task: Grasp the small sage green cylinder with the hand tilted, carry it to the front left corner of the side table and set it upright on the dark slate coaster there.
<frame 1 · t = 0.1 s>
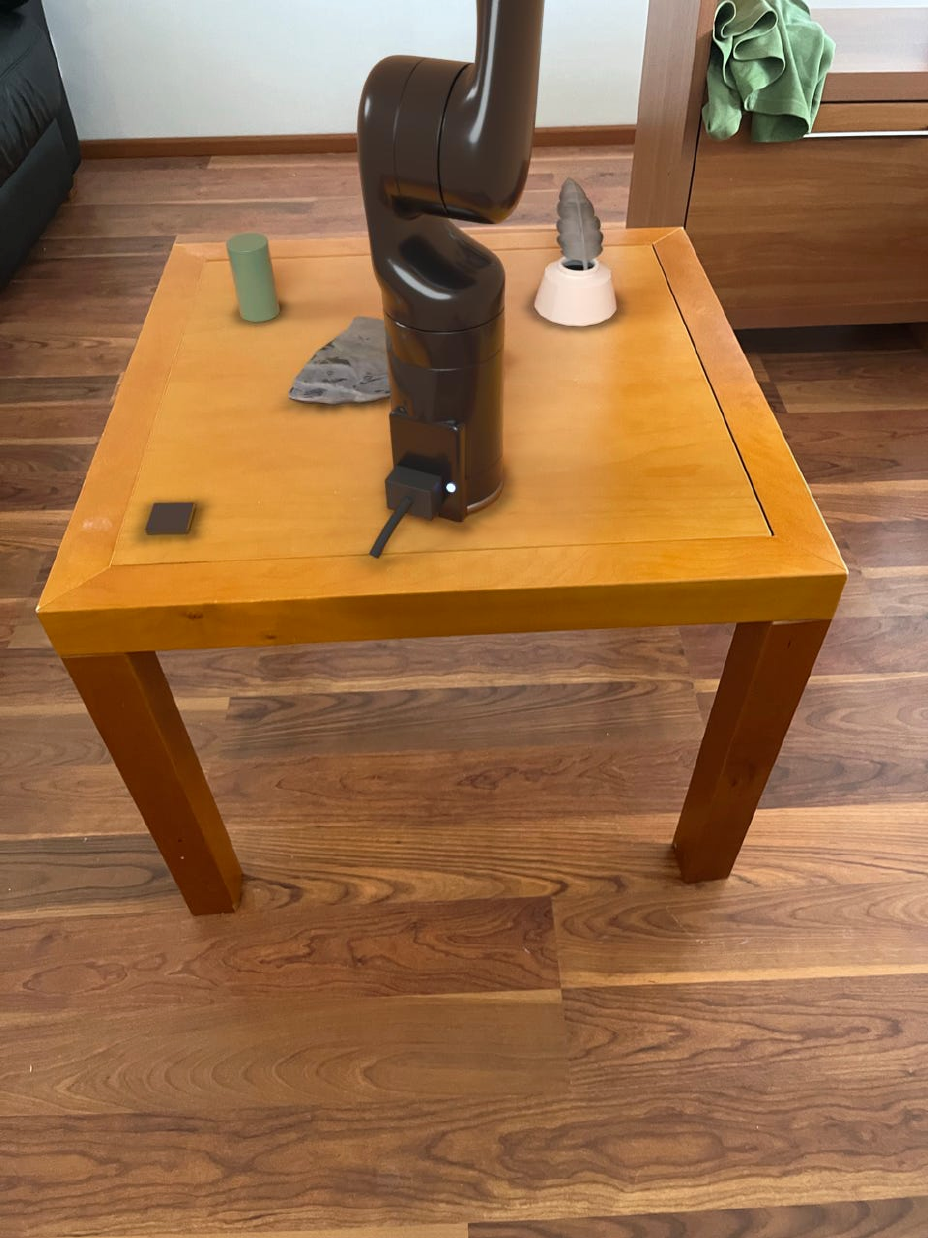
sage green cylinder: (260, 312, 104), on the table
inkwell: (568, 289, 107), on the table
coaster: (171, 520, 80), on the table
fossil rock: (397, 378, 95), on the table
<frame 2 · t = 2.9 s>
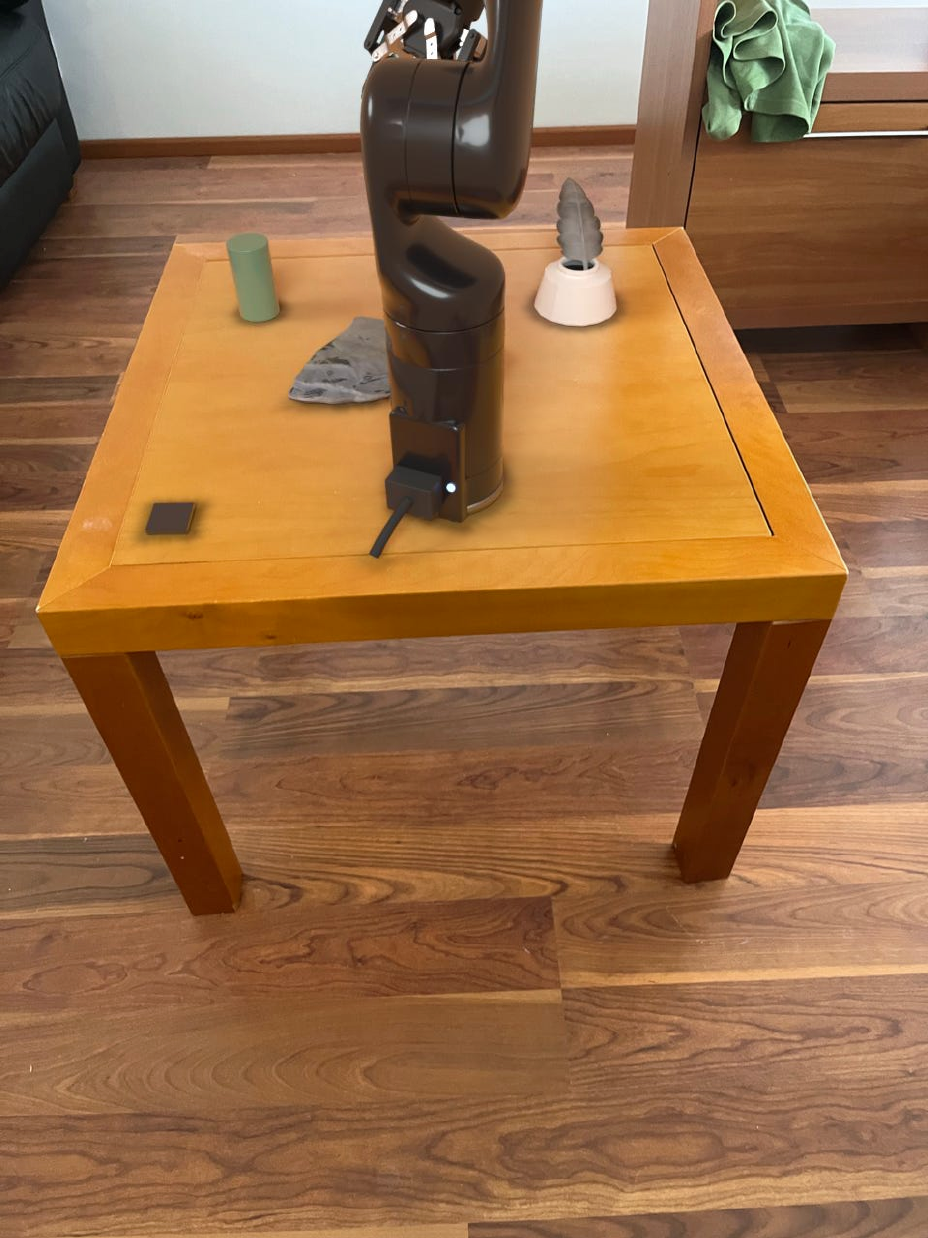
hand: (394, 118, 98), 17 cm above the table, tool tilted 35°, fingers open, 8 cm apart
nothing on the table moved.
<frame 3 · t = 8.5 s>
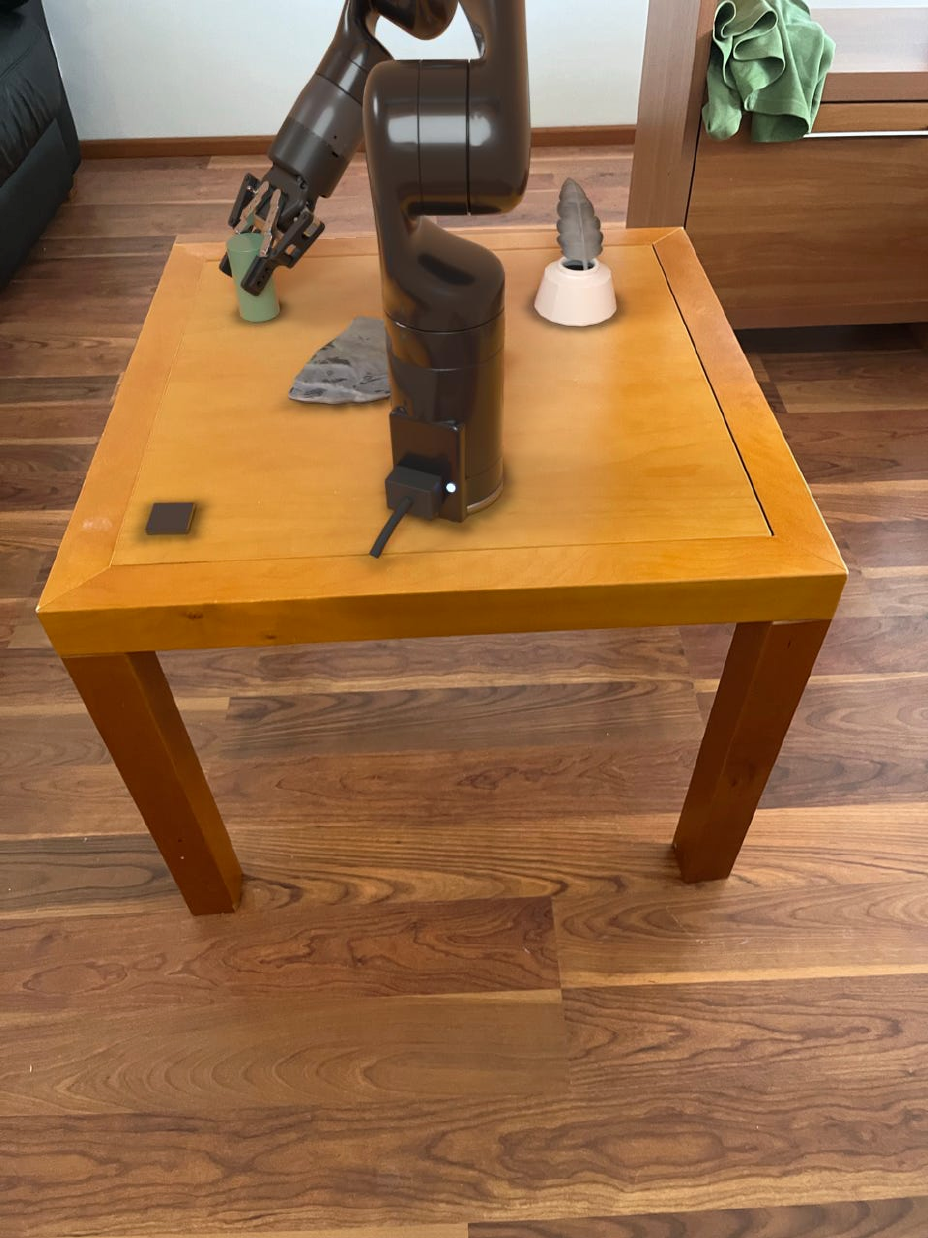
hand: (237, 282, 100), 4 cm above the table, tool tilted 45°, fingers closed on sage green cylinder, 4 cm apart
sage green cylinder: (260, 312, 104), on the table, touching gripper
everything else where it was.
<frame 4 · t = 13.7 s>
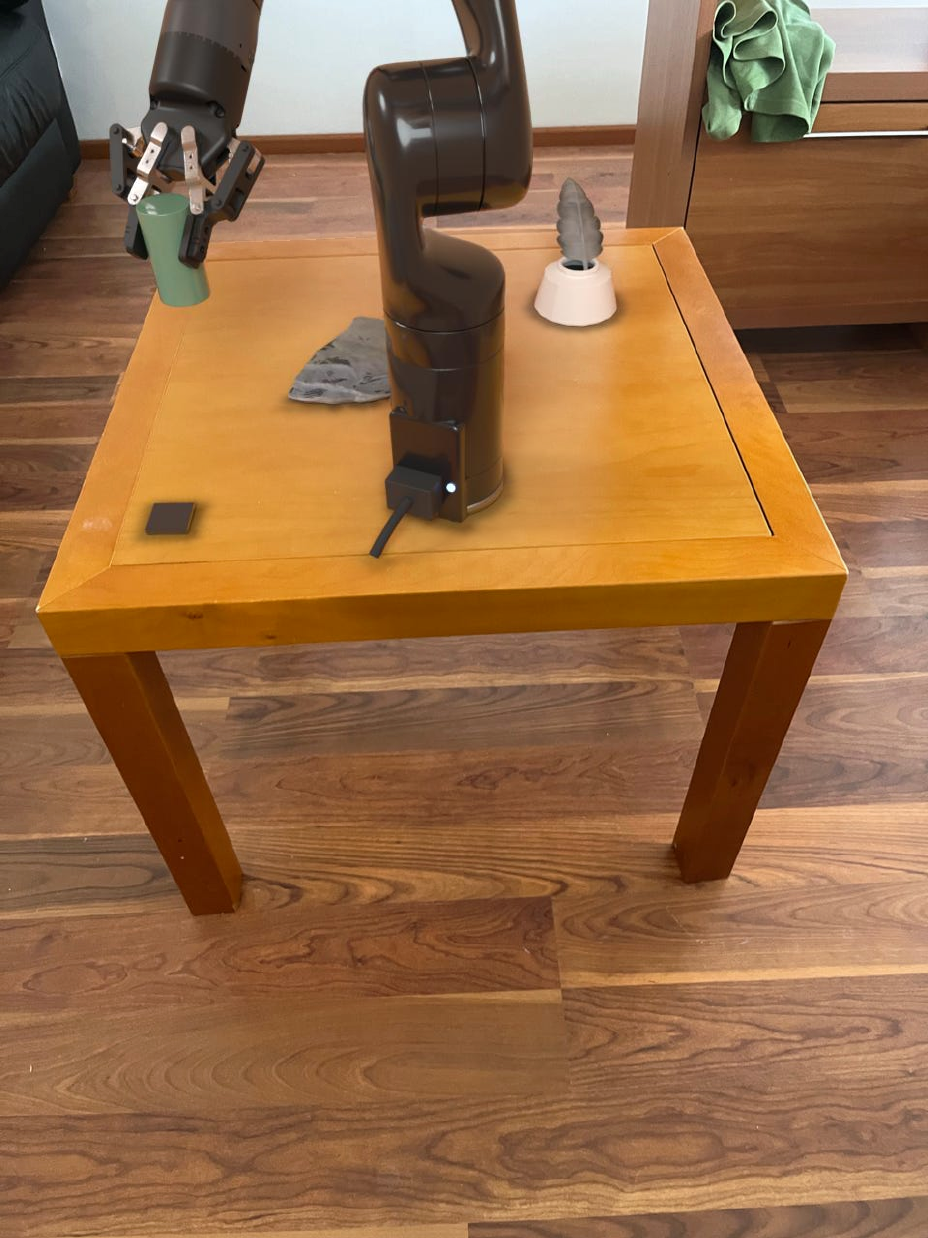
hand: (162, 259, 78), 16 cm above the table, tool tilted 45°, fingers closed on sage green cylinder, 4 cm apart
sage green cylinder: (185, 295, 82), point 12 cm above the table, touching gripper
everything else where it was.
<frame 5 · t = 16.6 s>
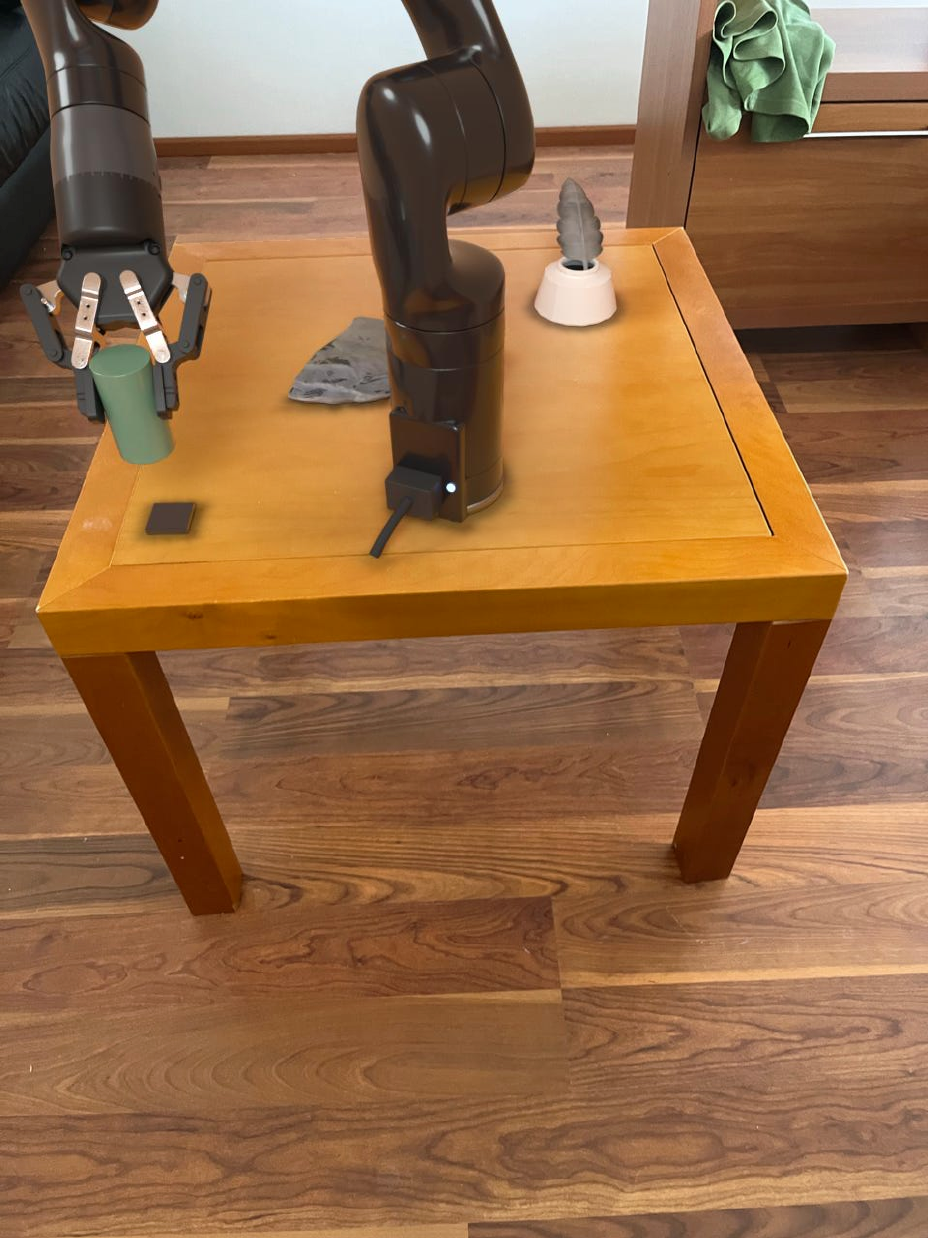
hand: (131, 419, 70), 11 cm above the table, tool tilted 45°, fingers closed on sage green cylinder, 4 cm apart
sage green cylinder: (147, 448, 74), point 7 cm above the table, touching gripper
everything else where it was.
when the fingers open (5 cm above the table, at t = 18.9 s): sage green cylinder stays where it is, resting on coaster.
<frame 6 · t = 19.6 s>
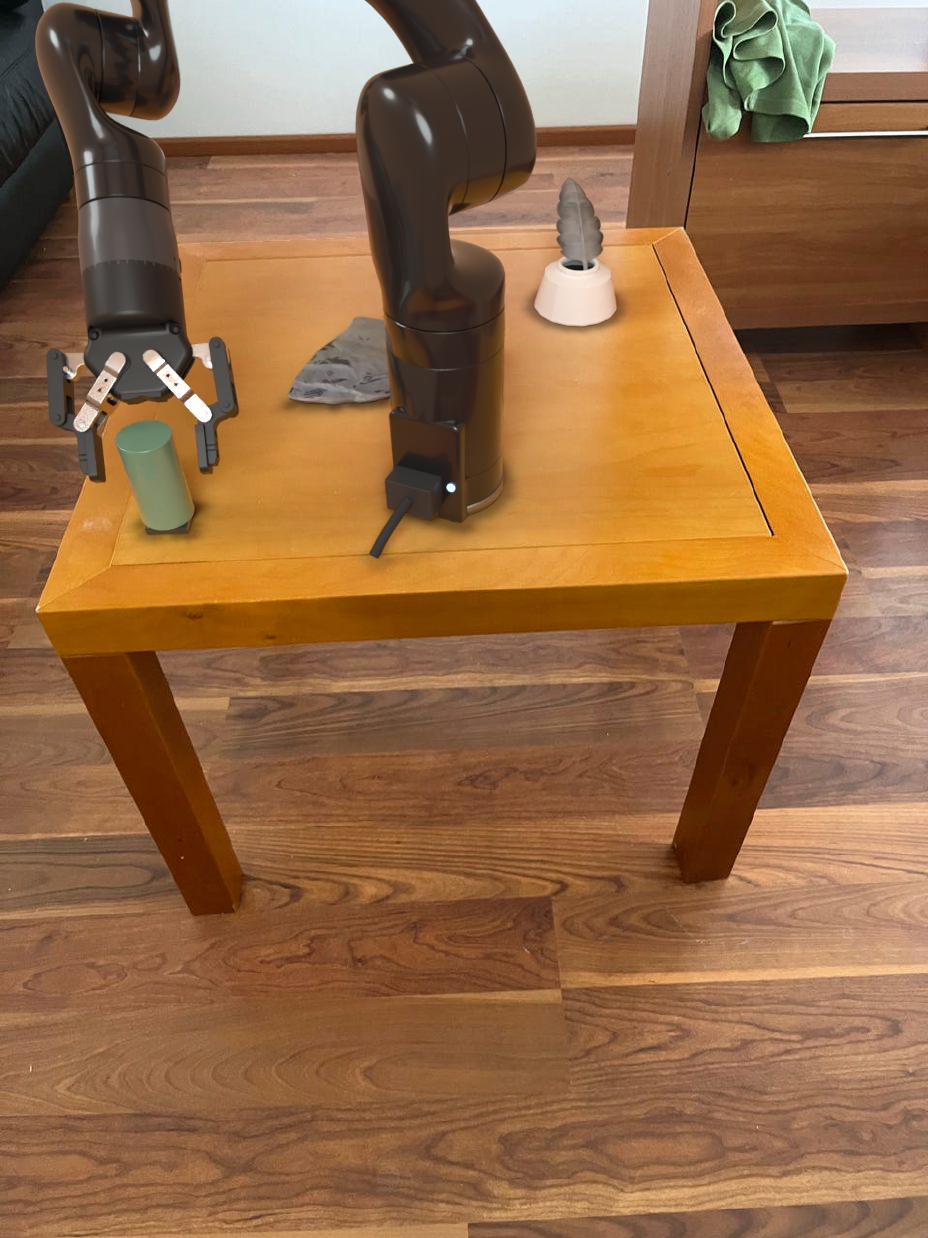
hand: (152, 477, 75), 6 cm above the table, tool tilted 45°, fingers open, 8 cm apart
sage green cylinder: (168, 513, 79), point 1 cm above the table, touching coaster
everything else where it was.
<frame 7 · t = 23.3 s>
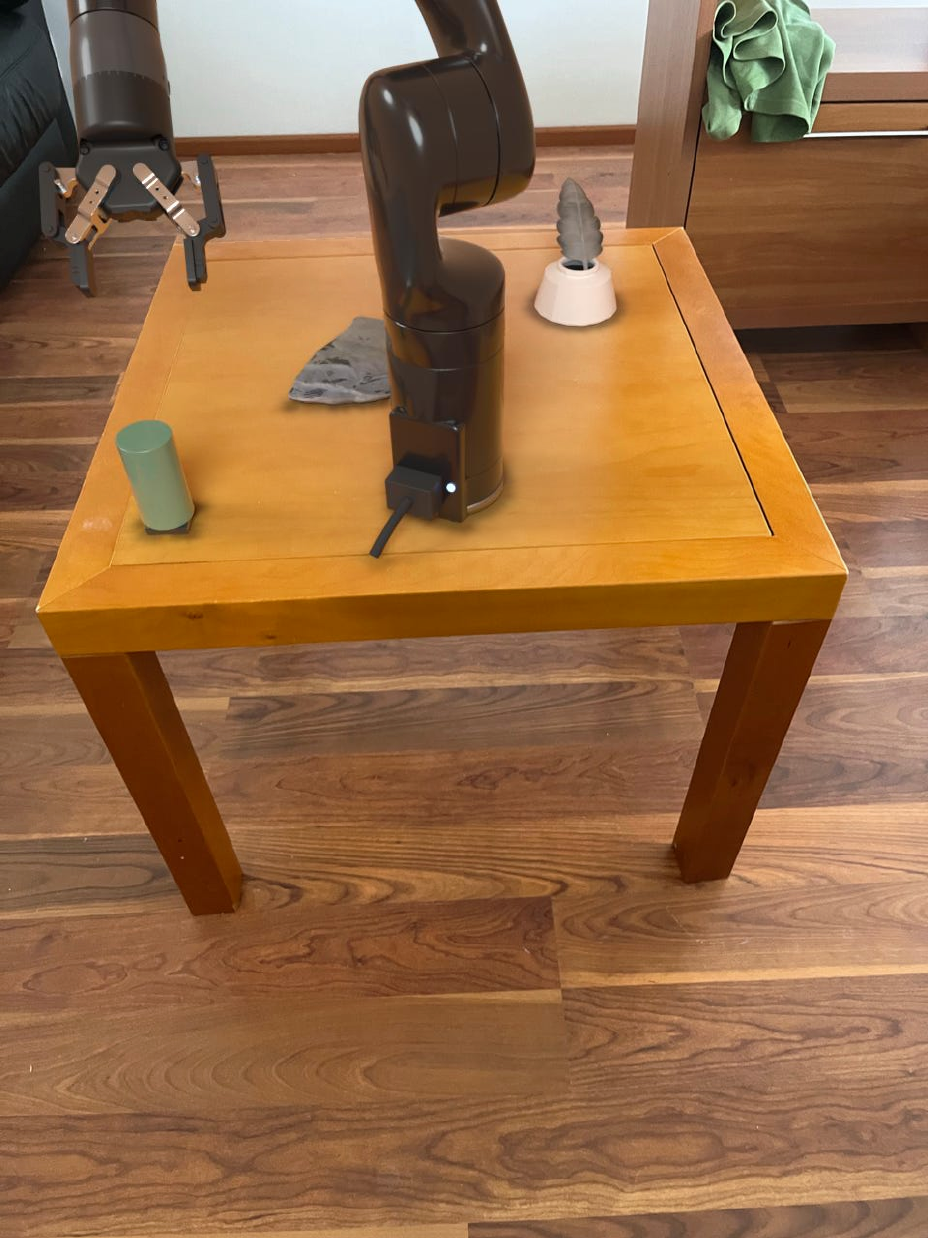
hand: (142, 291, 77), 15 cm above the table, tool tilted 45°, fingers open, 8 cm apart
nothing on the table moved.
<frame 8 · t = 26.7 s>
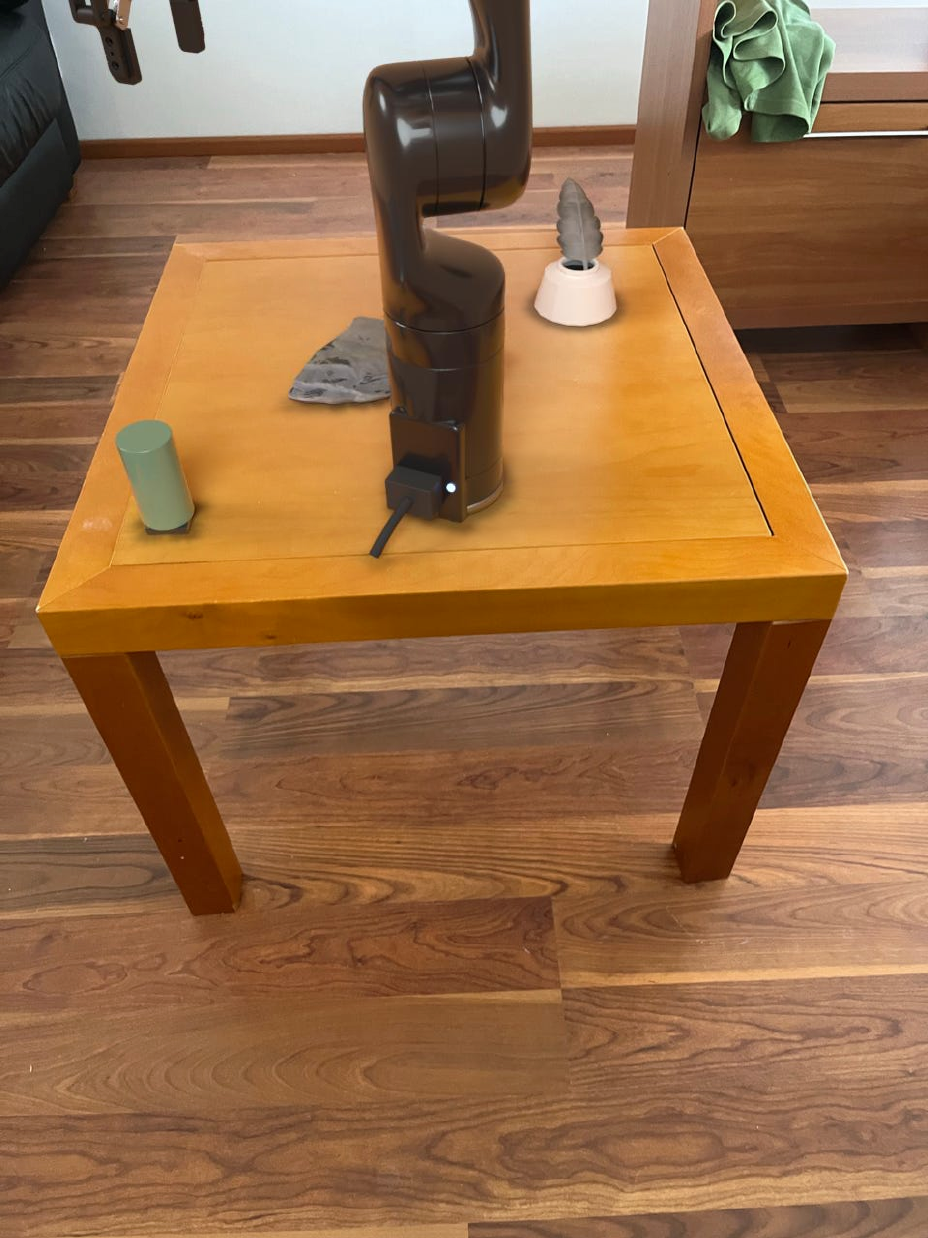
hand: (162, 66, 75), 28 cm above the table, tool pointing down, fingers open, 8 cm apart
nothing on the table moved.
at the end: sage green cylinder 0.2 cm off-centre on the coaster, point 0.6 cm above the coaster's base; sage green cylinder tilted 0°; the gripper is holding nothing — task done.
